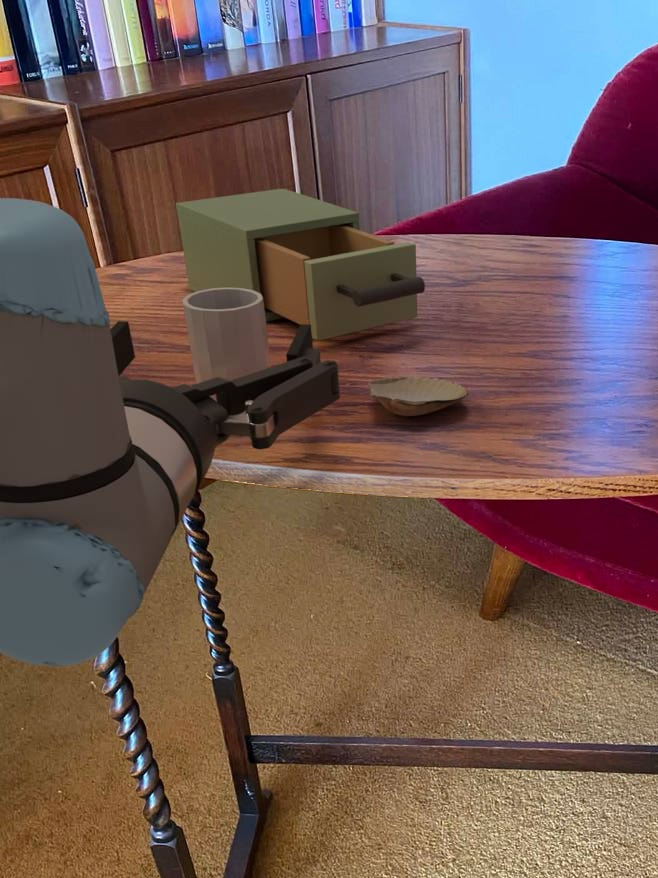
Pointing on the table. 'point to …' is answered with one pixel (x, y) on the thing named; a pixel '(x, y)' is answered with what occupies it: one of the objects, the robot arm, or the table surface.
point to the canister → (226, 333)
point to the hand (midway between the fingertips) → (217, 340)
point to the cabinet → (246, 234)
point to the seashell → (416, 394)
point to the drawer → (338, 279)
